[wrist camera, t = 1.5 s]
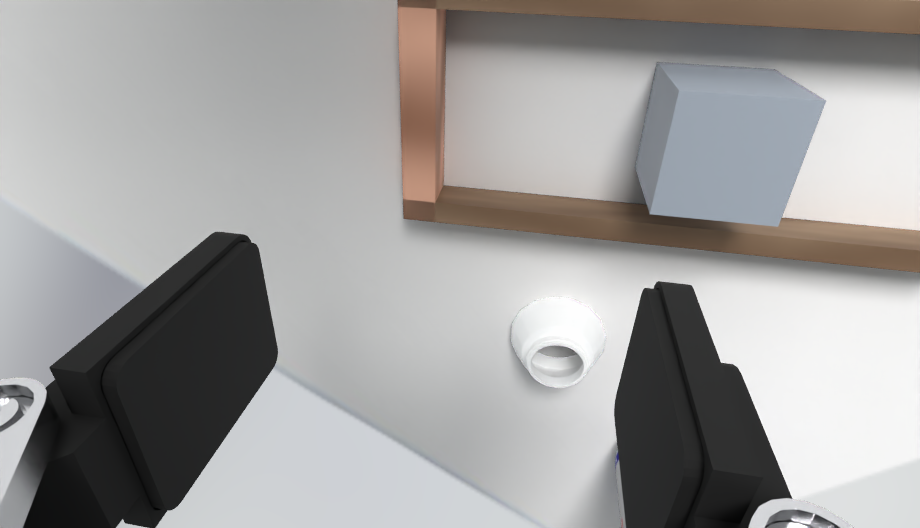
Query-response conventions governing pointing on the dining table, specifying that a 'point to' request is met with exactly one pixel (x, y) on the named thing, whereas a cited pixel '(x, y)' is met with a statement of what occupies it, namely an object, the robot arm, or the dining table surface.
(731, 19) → the guide channel
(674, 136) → the grey block
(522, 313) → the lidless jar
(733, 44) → the dining table surface
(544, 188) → the dining table surface
